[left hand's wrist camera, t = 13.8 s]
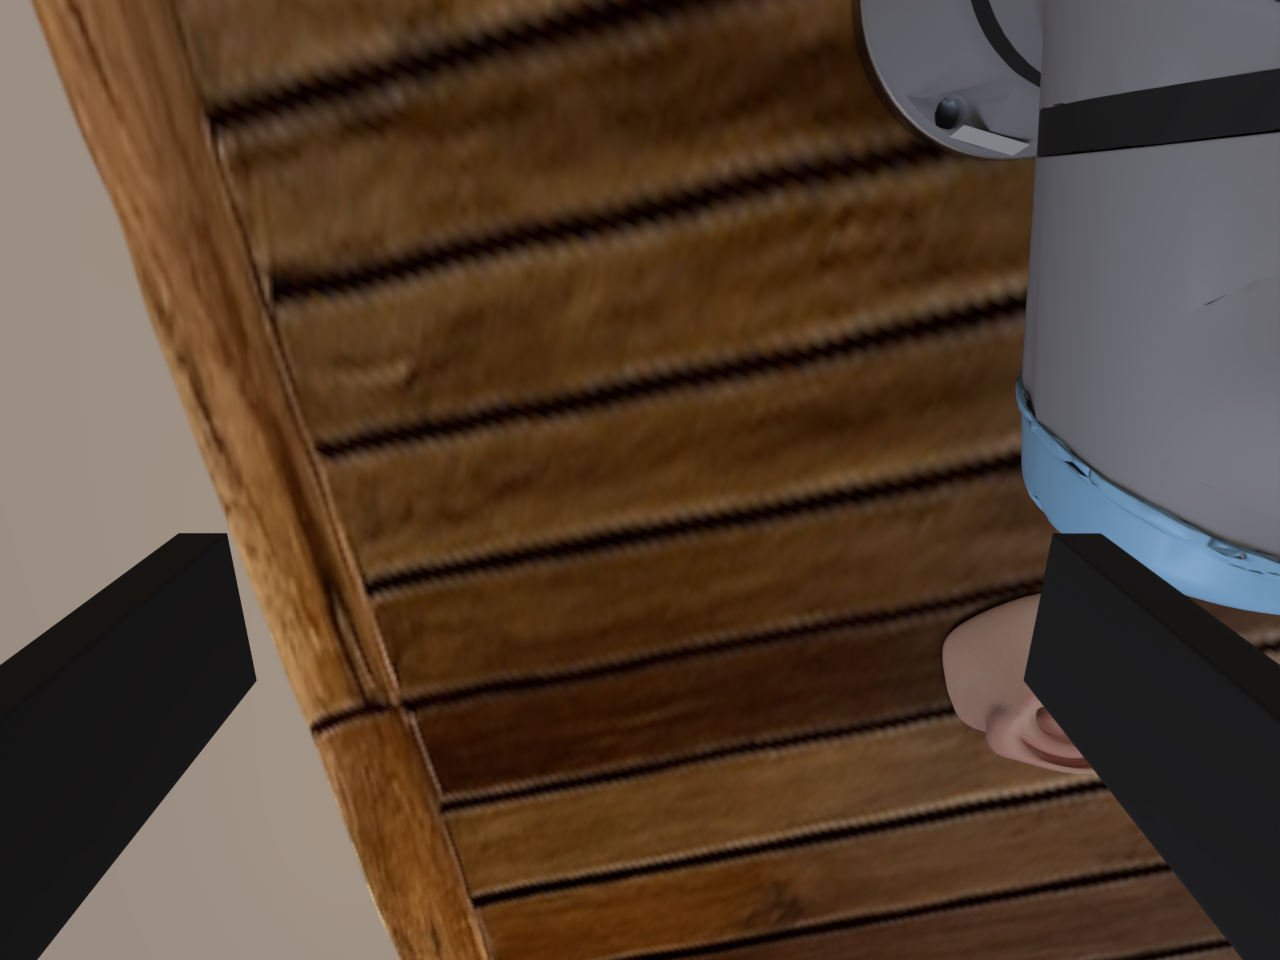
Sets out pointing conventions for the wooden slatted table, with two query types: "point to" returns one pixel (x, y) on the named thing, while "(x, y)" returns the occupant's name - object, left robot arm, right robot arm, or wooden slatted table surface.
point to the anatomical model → (1005, 688)
